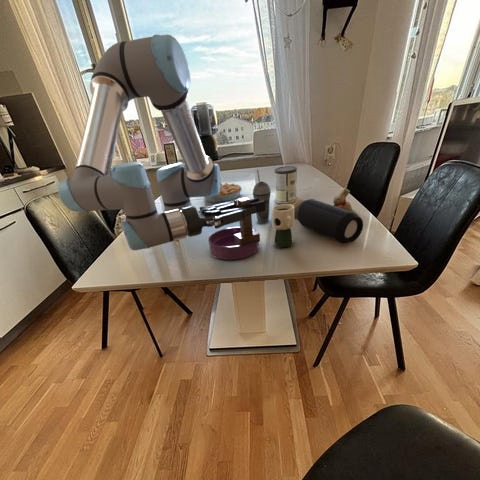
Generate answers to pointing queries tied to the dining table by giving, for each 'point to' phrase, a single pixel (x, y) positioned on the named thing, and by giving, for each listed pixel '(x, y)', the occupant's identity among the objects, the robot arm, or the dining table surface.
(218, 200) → the pie
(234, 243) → the bowl
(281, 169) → the coffee can
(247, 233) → the wooden stamp
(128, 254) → the dining table surface
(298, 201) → the bread roll
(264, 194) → the beverage cup
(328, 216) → the portable speaker
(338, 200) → the chocolate bunny
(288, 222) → the character mug
